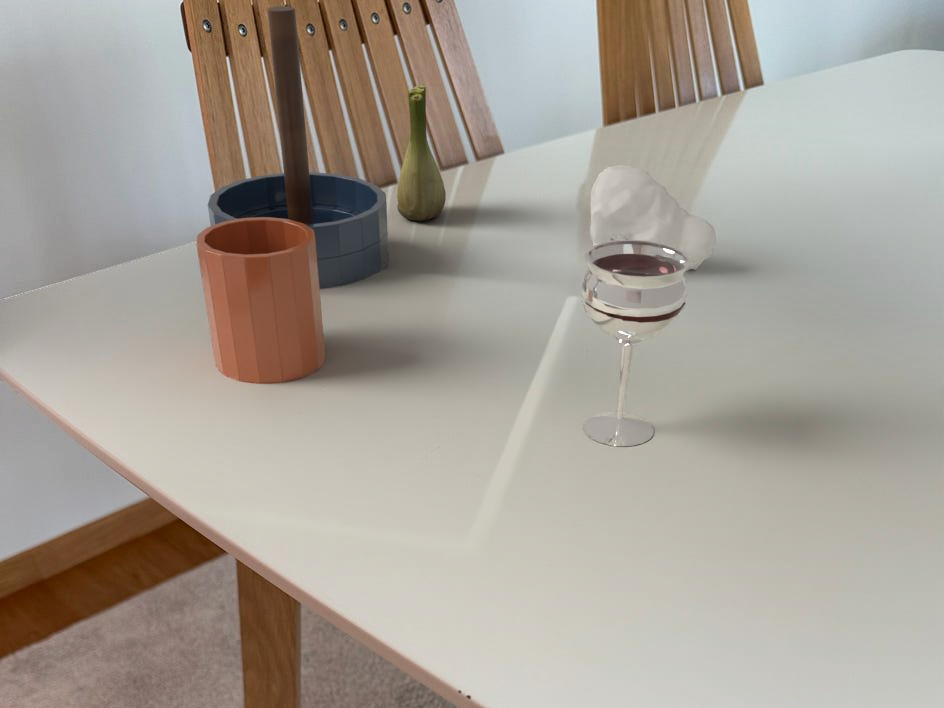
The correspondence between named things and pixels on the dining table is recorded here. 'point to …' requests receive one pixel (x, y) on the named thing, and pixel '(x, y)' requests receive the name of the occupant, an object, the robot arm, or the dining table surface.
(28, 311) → the dining table surface
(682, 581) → the dining table surface
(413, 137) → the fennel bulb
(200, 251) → the pot
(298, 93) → the stirring stick
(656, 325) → the wineglass
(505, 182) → the dining table surface
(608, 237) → the lumpy white blob
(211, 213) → the bowl
